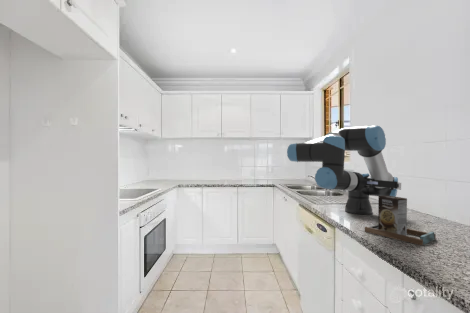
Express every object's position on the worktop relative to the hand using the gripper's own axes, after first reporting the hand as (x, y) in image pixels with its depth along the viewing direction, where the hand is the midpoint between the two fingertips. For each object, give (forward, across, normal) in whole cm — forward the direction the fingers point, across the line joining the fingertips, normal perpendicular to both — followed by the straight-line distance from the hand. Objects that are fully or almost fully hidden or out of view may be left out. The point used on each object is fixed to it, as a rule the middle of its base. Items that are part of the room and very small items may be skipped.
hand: (383, 185), depth 108 cm
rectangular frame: (+10, +1, -20) cm, 23 cm away
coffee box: (+10, -1, -21) cm, 23 cm away
